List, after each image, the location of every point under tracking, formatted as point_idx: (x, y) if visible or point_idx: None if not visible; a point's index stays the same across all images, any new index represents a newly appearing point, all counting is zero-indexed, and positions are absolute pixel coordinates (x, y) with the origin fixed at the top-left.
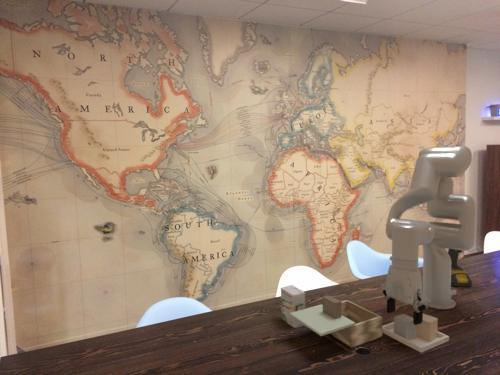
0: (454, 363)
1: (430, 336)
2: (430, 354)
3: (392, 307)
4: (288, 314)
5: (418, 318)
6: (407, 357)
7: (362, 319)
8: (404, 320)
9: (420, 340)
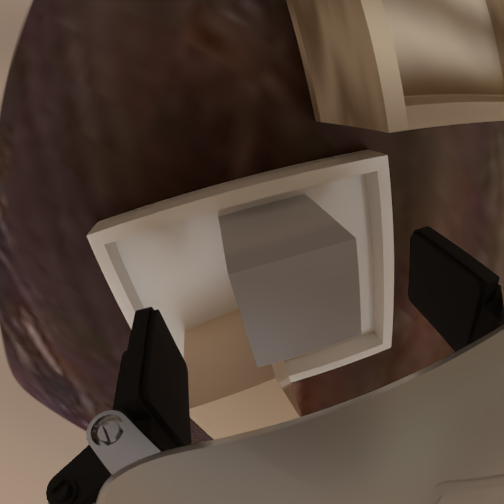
0: (32, 309)
1: (185, 349)
2: (96, 266)
3: (431, 292)
4: None
5: (123, 371)
6: (89, 135)
7: (464, 96)
8: (270, 286)
9: (208, 297)
